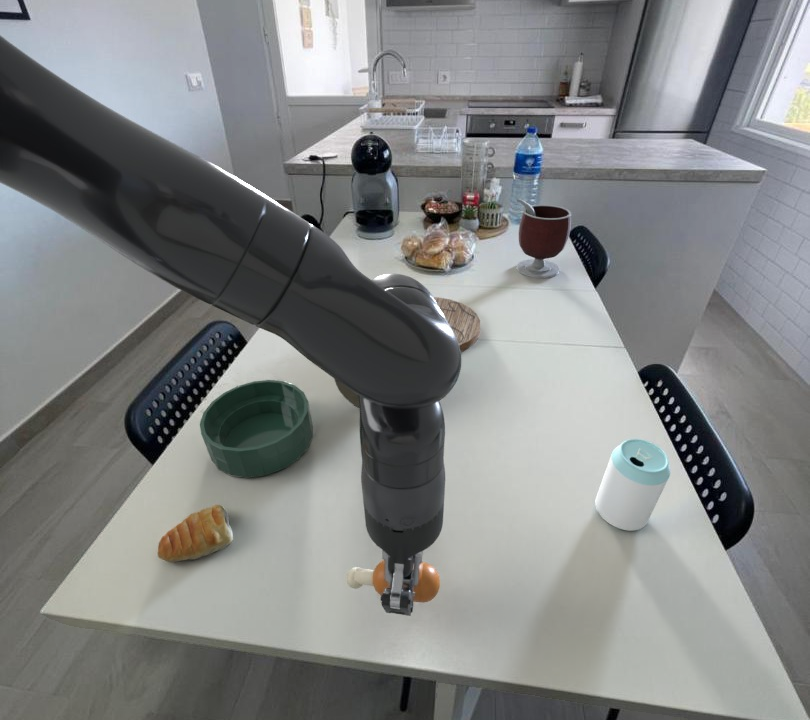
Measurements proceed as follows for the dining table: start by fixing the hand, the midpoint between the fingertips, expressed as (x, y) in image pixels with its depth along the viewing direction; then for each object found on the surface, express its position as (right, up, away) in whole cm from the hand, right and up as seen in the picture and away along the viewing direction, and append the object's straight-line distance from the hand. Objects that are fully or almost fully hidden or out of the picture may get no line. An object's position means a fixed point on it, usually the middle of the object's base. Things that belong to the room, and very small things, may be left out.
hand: (405, 588), depth 51 cm
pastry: (-28, +1, +11) cm, 30 cm away
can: (+31, +4, +14) cm, 34 cm away
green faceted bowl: (-25, +12, +27) cm, 38 cm away
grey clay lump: (-6, +18, +35) cm, 39 cm away
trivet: (+5, +33, +56) cm, 66 cm away
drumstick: (-1, 0, 0) cm, 1 cm away
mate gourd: (+39, +53, +83) cm, 106 cm away
